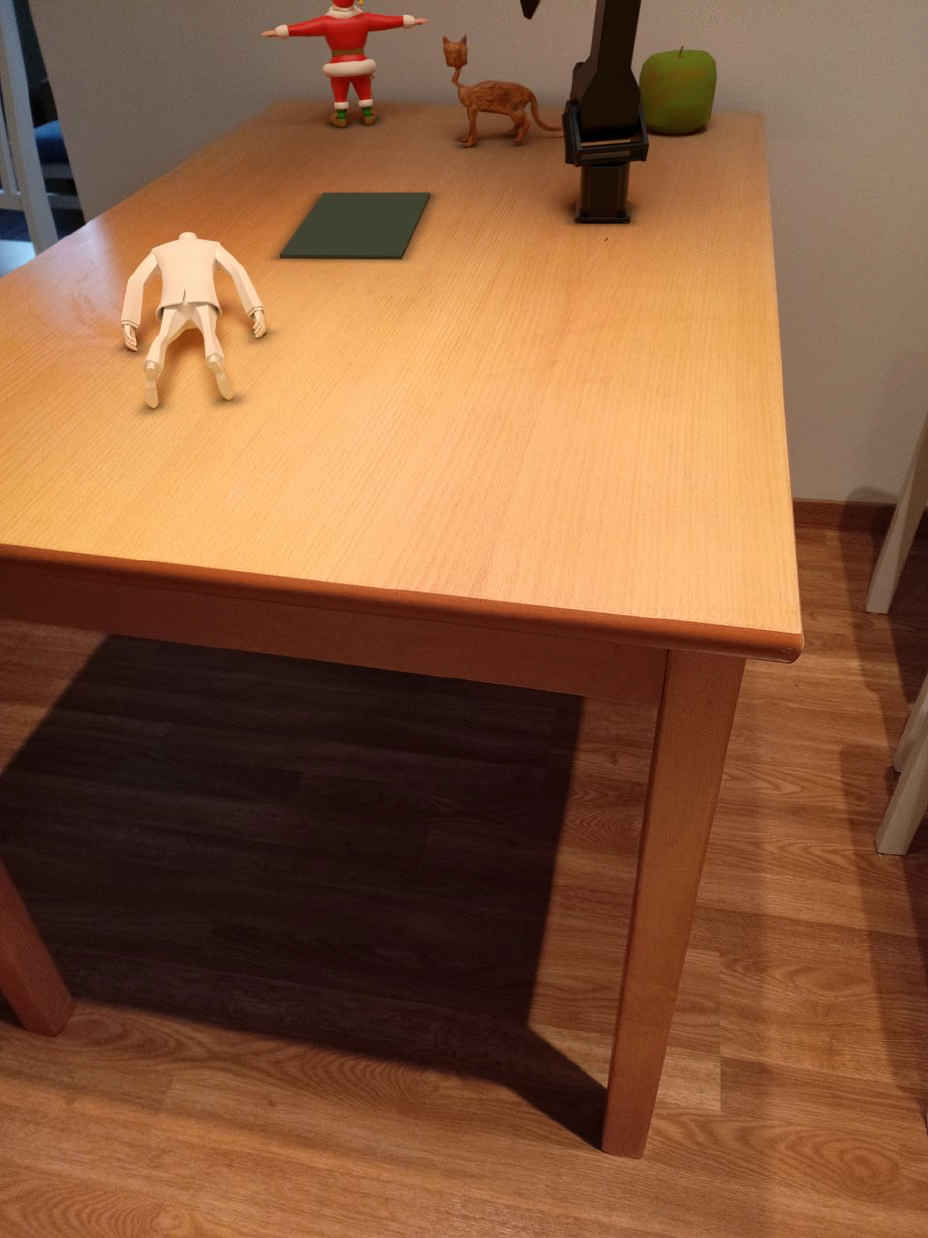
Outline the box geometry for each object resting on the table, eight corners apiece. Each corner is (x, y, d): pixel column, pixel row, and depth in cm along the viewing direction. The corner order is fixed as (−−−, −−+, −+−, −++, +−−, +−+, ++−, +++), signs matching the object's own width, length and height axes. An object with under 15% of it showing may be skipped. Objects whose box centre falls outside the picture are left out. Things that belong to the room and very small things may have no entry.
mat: (402, 258, 109) (401, 255, 109) (279, 257, 111) (279, 254, 110) (430, 195, 126) (430, 192, 125) (323, 195, 127) (323, 192, 127)
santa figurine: (429, 111, 158) (422, -26, 146) (436, 120, 154) (429, -21, 141) (273, 127, 154) (253, -14, 142) (277, 136, 150) (255, -8, 138)
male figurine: (274, 413, 87) (263, 269, 103) (263, 353, 82) (253, 212, 98) (117, 431, 85) (130, 282, 101) (96, 371, 81) (114, 224, 97)
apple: (689, 115, 150) (698, 34, 143) (725, 132, 143) (735, 47, 136) (623, 124, 148) (628, 42, 141) (655, 142, 140) (662, 56, 133)
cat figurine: (566, 131, 146) (569, 25, 138) (573, 143, 141) (576, 34, 132) (446, 138, 146) (441, 32, 137) (448, 150, 141) (444, 41, 132)
